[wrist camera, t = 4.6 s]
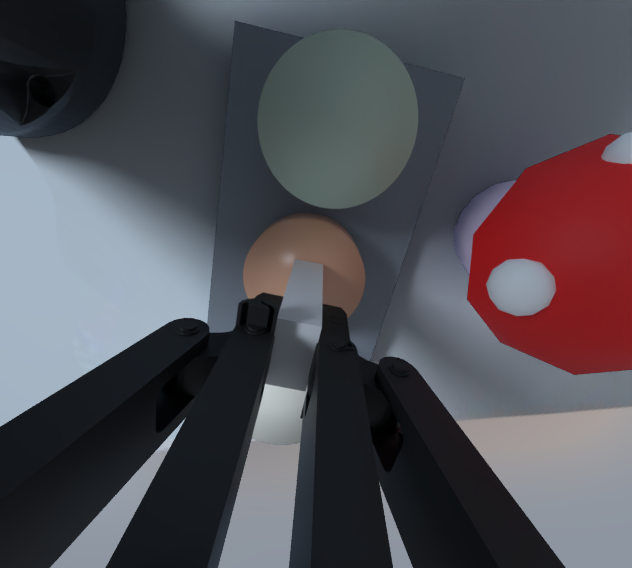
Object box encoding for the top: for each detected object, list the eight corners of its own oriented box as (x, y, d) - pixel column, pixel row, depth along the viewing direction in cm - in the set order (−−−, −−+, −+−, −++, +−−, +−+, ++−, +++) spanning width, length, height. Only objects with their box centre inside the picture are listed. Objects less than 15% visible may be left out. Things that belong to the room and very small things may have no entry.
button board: (210, 367, 26) (196, 392, 23) (244, 35, 17) (229, 11, 15) (350, 394, 27) (353, 421, 24) (450, 86, 18) (473, 73, 15)
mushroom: (403, 185, 20) (501, 220, 9) (584, 108, 18) (990, 31, 7) (446, 320, 24) (553, 464, 13) (601, 267, 22) (888, 381, 11)
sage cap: (257, 186, 16) (247, 191, 14) (278, 31, 13) (270, 8, 11) (382, 214, 16) (390, 222, 14) (425, 67, 14) (442, 52, 12)
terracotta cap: (245, 304, 20) (236, 321, 18) (260, 201, 17) (251, 207, 15) (345, 325, 20) (348, 343, 18) (374, 226, 18) (380, 235, 16)
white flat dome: (227, 408, 22) (217, 434, 19) (238, 326, 19) (228, 347, 17) (320, 425, 22) (320, 452, 20) (343, 347, 19) (345, 369, 17)
